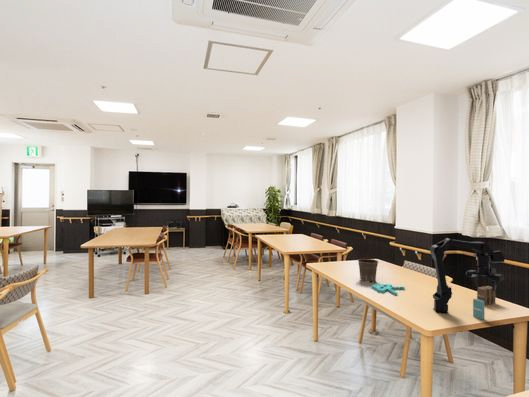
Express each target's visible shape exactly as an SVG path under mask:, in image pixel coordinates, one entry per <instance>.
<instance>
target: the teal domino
mask: <svg viewBox="0 0 529 397" xmlns="http://www.w3.org/2000/svg"><path fill="white" fill-rule="evenodd" d="M472 306H473V307H472V311H473V312H472V317H473V318H477V319H479V320H482V319H483V320H485V305H484V301H482V300H478V299H477V298H473V300H472Z"/></svg>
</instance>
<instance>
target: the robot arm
mask: <svg viewBox="0 0 529 397" xmlns="http://www.w3.org/2000/svg"><path fill="white" fill-rule="evenodd" d="M451 247H456V248H457V247H458V248H462V249H463V248H464V249H471V250H474V251H475V252H474V253H473V254H472V256H473V257H476V262H477V264H476V266H475V267H476V268H477V270H475V269H474V270H473V269H469V270H467V271H466V272H465V276H466V277H467V278H469V279H470V280H471V281H472V283H473V285H474V286H475V288H476V289H477V288H478V287H479V277H484V278H489V279H491V281H490V283H491V287H492V289H493V292H495V293H496V290H497V287H498V284H499V283H500V282H502V281H504V280H506V277H505V276H504V274H501V273H497V269H496V268H494V267H492V265H491V264H490V263H492V264H495V263H497V264H498V263H504V262H505V259H506V258H505V255H504V254H503V253H502V252H503V251H501V250H495V251H493V250H492V249H491V248H490V244H489V243H486V242H482V241H464V240H459V239H452V238H448V237H446V238H445V239H443V240H441V241H440V242H437V243H436V244H432V245H430V247H429V252H430V255H431V257H432V259H433V262H434V268H435V273H436V274H435V275H436V280H437V286H436V292H434V294H432V298H433V299H434V300H433V308H432V310H433V311H434V312H435V313H438V314H440V313H441V314H449V304H448V303H449V301H450V300H451V298H452V297H453V296H452V295H453V292H452V287H451V286H449V285H448V283H447V279H446V277H447V276H446V272H445V267H444V257H445V252H447V251H448V250H449V249H450V248H451Z"/></svg>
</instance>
